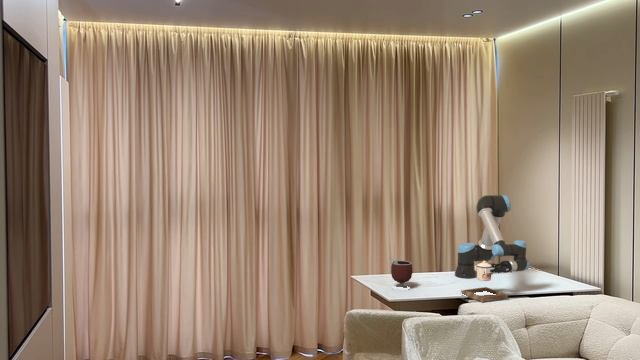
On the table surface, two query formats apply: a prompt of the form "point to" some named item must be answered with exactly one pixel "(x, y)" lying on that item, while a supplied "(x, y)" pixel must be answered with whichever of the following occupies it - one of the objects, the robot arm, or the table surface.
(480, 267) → the teacup with lid
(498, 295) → the tray
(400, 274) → the mate gourd
